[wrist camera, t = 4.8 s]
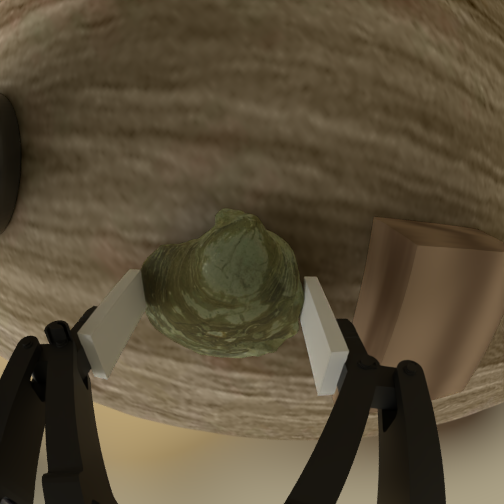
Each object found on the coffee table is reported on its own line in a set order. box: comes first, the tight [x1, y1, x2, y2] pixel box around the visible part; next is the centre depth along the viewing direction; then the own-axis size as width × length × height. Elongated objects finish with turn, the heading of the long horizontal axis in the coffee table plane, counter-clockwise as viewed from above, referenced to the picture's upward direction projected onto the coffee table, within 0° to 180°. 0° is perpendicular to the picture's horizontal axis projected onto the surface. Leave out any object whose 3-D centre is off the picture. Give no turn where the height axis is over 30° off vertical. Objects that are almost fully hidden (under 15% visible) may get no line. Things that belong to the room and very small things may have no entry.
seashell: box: [141, 208, 304, 358], centre depth 16 cm, size 10×7×10 cm
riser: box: [332, 217, 504, 413], centre depth 18 cm, size 11×17×6 cm, turn 178°
